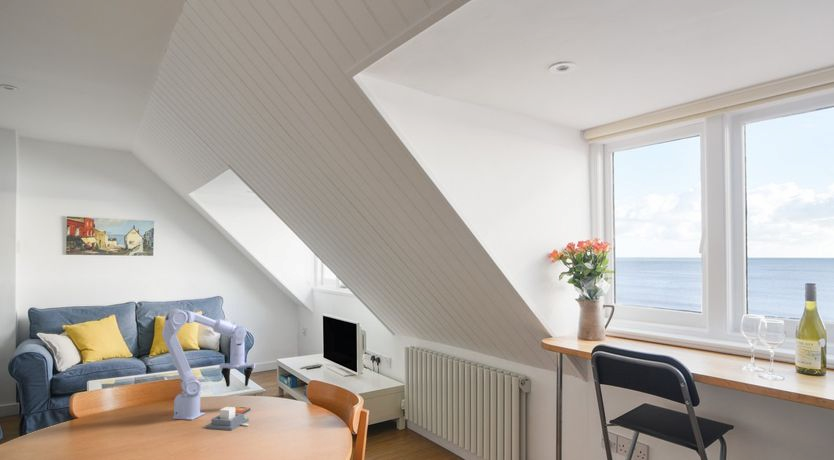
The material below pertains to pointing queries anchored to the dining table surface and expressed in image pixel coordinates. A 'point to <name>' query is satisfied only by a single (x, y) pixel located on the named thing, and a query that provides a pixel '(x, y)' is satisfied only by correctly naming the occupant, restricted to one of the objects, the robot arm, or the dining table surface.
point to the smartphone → (241, 410)
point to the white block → (227, 413)
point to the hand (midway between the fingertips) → (237, 385)
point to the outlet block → (228, 422)
